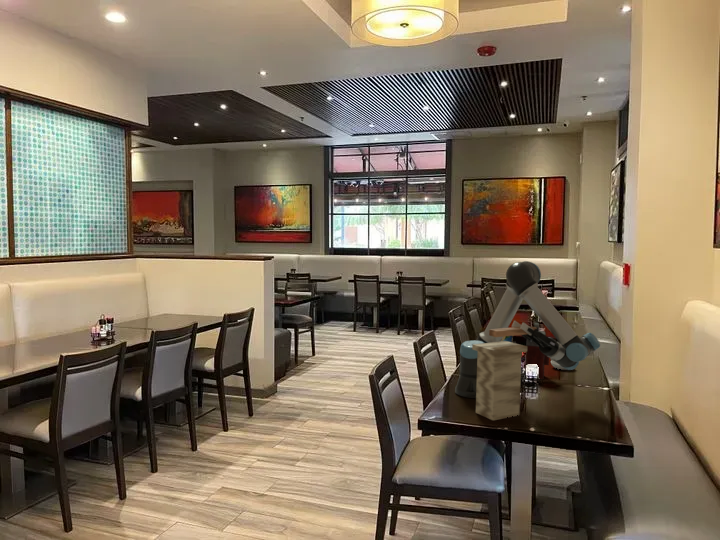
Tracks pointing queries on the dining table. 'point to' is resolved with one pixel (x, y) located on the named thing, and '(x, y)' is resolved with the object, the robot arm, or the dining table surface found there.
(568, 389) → the dining table surface
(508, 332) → the strip
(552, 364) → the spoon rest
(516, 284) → the robot arm
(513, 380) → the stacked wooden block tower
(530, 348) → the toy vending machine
